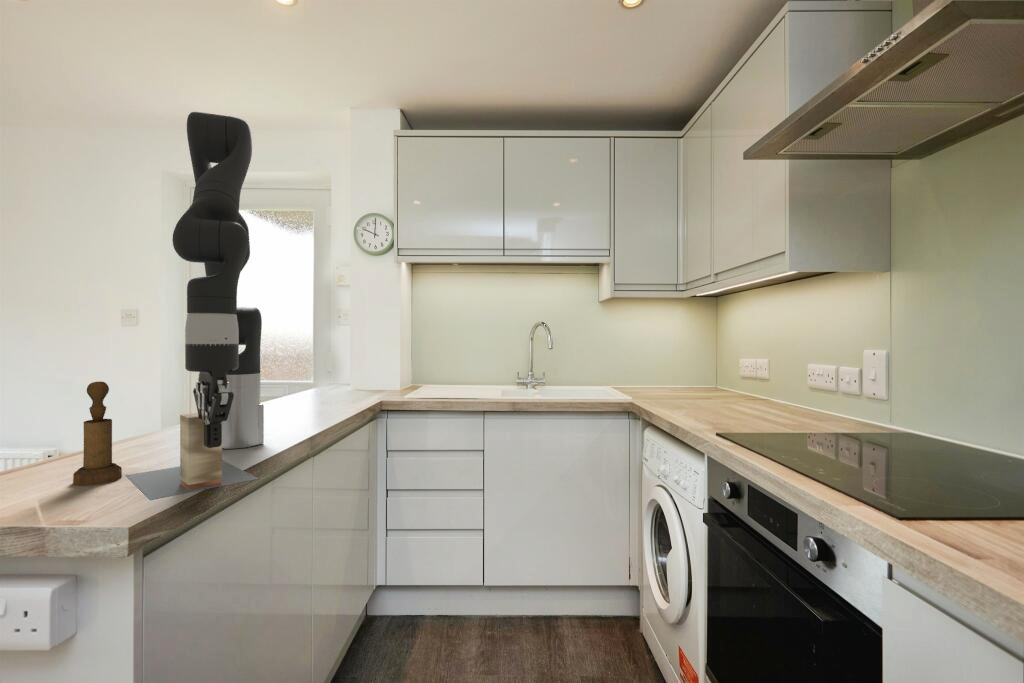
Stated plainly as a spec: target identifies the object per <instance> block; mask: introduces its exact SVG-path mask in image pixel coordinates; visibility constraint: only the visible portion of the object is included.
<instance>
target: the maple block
mask: <svg viewBox="0 0 1024 683" xmlns="http://www.w3.org/2000/svg"><path fill="white" fill-rule="evenodd" d="M204 425H205V424H202V421H201V419H199V417H198V412H194V413H184V414H183V413H182V414H180V416H179V428H180V430H179V433H180V434H179V435H180V436H179V439H180V440H179V443H180V444H179V446H180V447H179V461H180V462H179V465H180V466H179V467H180V484H181V485H183V486H184V487H185V488H186V489H188V490H191V489H196V488H201V487H206V486H212V485H217V484H222V460H223V448H222V444H221V446H219V447H213V448H208V447H206V446H204Z"/></svg>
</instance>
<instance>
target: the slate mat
mask: <svg viewBox="0 0 1024 683" xmlns="http://www.w3.org/2000/svg"><path fill="white" fill-rule="evenodd" d="M125 477H126V478H128V480H129V481H130V482H131V483H132V484H133V485H134V486H135V487H136V488H137V489H138V490H139V491H140V492H141V493H142V494H143V495H144V496H145V497H146V498H147V499H148V500H150V501H153V500H158V499H163V498H168V497H169V498H170V497H174V496H178V495H183V494H188V493H194V492H199V491H203V490H209V489H214V488H219V487H224V486H230V485H234V484H240V483H245V482H251V481H255V480H259V478H258V477H256V476H254V475H253V474H250V473H249V472H247V471H245V470H243V469H241V468H239V467H237V466H235V465H233V464H232V463H230V462H227V461H225V460H223V459H222V484H217V485H212V486H206V487H201V488H196V489H191V490H188V489H186V488H185V487H184V486H183V485H181V484H180V466H175V467H169V468H164V469H163V468H161V469H155V470H149V471H144V472H137V473H131V474H125Z"/></svg>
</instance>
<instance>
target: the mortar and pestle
mask: <svg viewBox="0 0 1024 683" xmlns="http://www.w3.org/2000/svg"><path fill="white" fill-rule="evenodd" d="M109 391H110V387H109V385H108V384H107V382H105V381H92V382H91V383H89V384H88V385H87V387H86V393H87V395H88V396H89V398H90V399H91V401H92V404H91V406H90V407H89V408H88V409H89V413H90V416H91V419H88V420H85V421H83V458H82V460H83V463H82V464H83V465H82V467H79V468H78V469H77V470H76V471H74V472H73V474H72V478H73V479H72V485H73V486H77V487H89V486H90V487H91V486H97V485H103V484H109V483H112V482H115V481H118V480H121V479H122V476H123V473H122V472H123V471H122V470H123V469H122V466H121V465H118V464H117V463H115V462H113V419H112V418H104V416H105V414H106V411H107V406H106V405H104V400H105V398H106V397H107V395H108V394H109Z"/></svg>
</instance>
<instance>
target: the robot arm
mask: <svg viewBox="0 0 1024 683" xmlns="http://www.w3.org/2000/svg"><path fill="white" fill-rule="evenodd" d="M186 136H187V137H186V138H187V142H188V149H189V156H190V160H191V165H192V167H191V168H192V171H193V177H194V183H195V187H194V190H193V196H192V202H191V205H190V206H189V208H187V210H186V211H185V212H184V214H182V216H180V218H179V220H178V221H177V223H176V225H175V227H174V228H173V232H172V233H173V234H172V239H171V240H172V246H173V249H174V251H175V252H176V254H177V255H178V256H179V257H180V259H183V260H184V261H185V262H186V261H187V262H191V263H201V264H204V269H205V270H204V271H205V272H204V273H205V276H199V277H194V278H191V279H190V280H188V282H187V286H186V321H185V327H184V328H185V329H184V332H185V334H184V338H185V341H184V343H185V344H184V345H185V346H184V351H185V352H184V355H185V356H184V358H185V360H184V361H185V363H184V368H185V369H186V371H188V372H193V373H198V380H197V382H196V383H195V387H194V388H193V391H192V393H193V396H194V401H195V405H196V411H197V413H198V417H199V419H201V421H202V424H205V425H204V446H206V447H208V448H213V447H219V446H221V444H222V449H228V450H230V449H231V450H232V449H243V448H250V447H254V446H258V445H261V444H262V445H263V444H264V443H265V441H264V440H265V438H264V436H265V435H264V432H265V431H264V430H265V429H264V426H265V425H264V424H265V423H264V422H265V421H264V420H265V417H264V415H265V413H264V406H265V405H264V404H263V403H261V343H262V342H261V340H262V325H263V324H262V314H261V311H260V309H259V308H258V307H254V306H238V300H237V299H238V297H237V296H238V283H239V280H240V274H241V273H242V271H243V269H244V268H245V267H246V265H247V264H248V261H249V260H250V257H251V256H250V255H251V250H250V249H251V246H250V244H251V242H250V232H249V226H248V224H247V222H246V219H244V217H243V215H241V213H240V204H241V202H240V199H241V192H242V191H241V190H242V187H243V185H244V182H245V179H246V176H247V173H248V170H249V168H250V164H251V161H252V155H253V138H252V132H251V129H250V126H249V124H248V123H247V121H245V119H243V118H240V117H235V116H230V115H222V114H216V113H209V112H203V111H201V112H200V111H191V112H190V113H189V114H188V115H187V119H186ZM212 163H213V164H215V165H213V166H212ZM239 346H245V348H244V349H243V351H242V352H240V353H239V348H240V347H239Z"/></svg>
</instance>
